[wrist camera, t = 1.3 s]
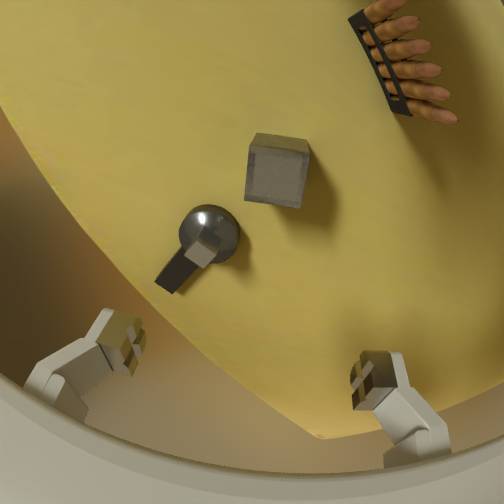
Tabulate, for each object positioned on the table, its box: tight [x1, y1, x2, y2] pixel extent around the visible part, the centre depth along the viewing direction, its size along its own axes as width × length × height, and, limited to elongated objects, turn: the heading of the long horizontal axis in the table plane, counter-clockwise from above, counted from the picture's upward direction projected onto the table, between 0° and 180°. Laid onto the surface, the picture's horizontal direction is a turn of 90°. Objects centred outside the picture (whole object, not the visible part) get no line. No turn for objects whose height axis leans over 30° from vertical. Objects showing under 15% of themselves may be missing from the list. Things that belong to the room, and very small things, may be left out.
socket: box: [244, 133, 310, 209], centre depth 25 cm, size 5×5×6 cm
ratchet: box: [155, 204, 240, 294], centre depth 34 cm, size 16×7×5 cm, turn 139°
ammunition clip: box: [348, 0, 458, 124], centre depth 15 cm, size 11×2×12 cm, turn 27°
